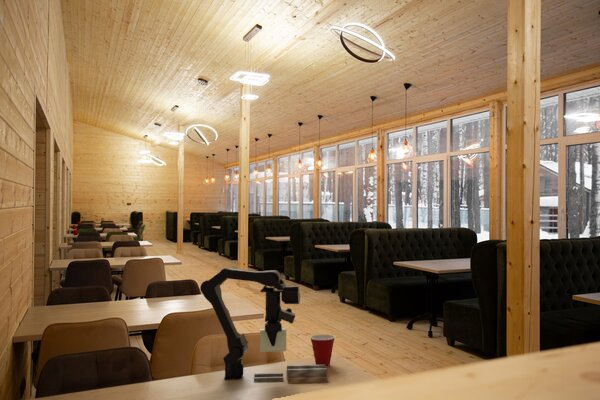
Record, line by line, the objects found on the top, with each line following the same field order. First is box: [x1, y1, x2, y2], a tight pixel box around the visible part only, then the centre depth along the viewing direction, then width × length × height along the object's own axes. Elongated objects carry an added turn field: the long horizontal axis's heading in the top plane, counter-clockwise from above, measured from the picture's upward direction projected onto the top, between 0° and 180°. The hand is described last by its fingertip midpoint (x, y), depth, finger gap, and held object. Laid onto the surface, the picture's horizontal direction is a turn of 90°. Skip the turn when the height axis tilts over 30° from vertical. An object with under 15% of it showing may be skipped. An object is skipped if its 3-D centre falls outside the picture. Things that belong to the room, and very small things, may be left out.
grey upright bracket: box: [253, 372, 284, 383], centre depth 172 cm, size 11×5×1 cm, turn 94°
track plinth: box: [285, 364, 329, 384], centre depth 173 cm, size 15×10×4 cm, turn 94°
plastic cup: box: [309, 334, 336, 367], centre depth 188 cm, size 11×11×12 cm
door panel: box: [259, 327, 287, 353], centre depth 172 cm, size 10×2×8 cm, turn 94°
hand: (273, 344), depth 172 cm, fingers closed on door panel, 2 cm apart
